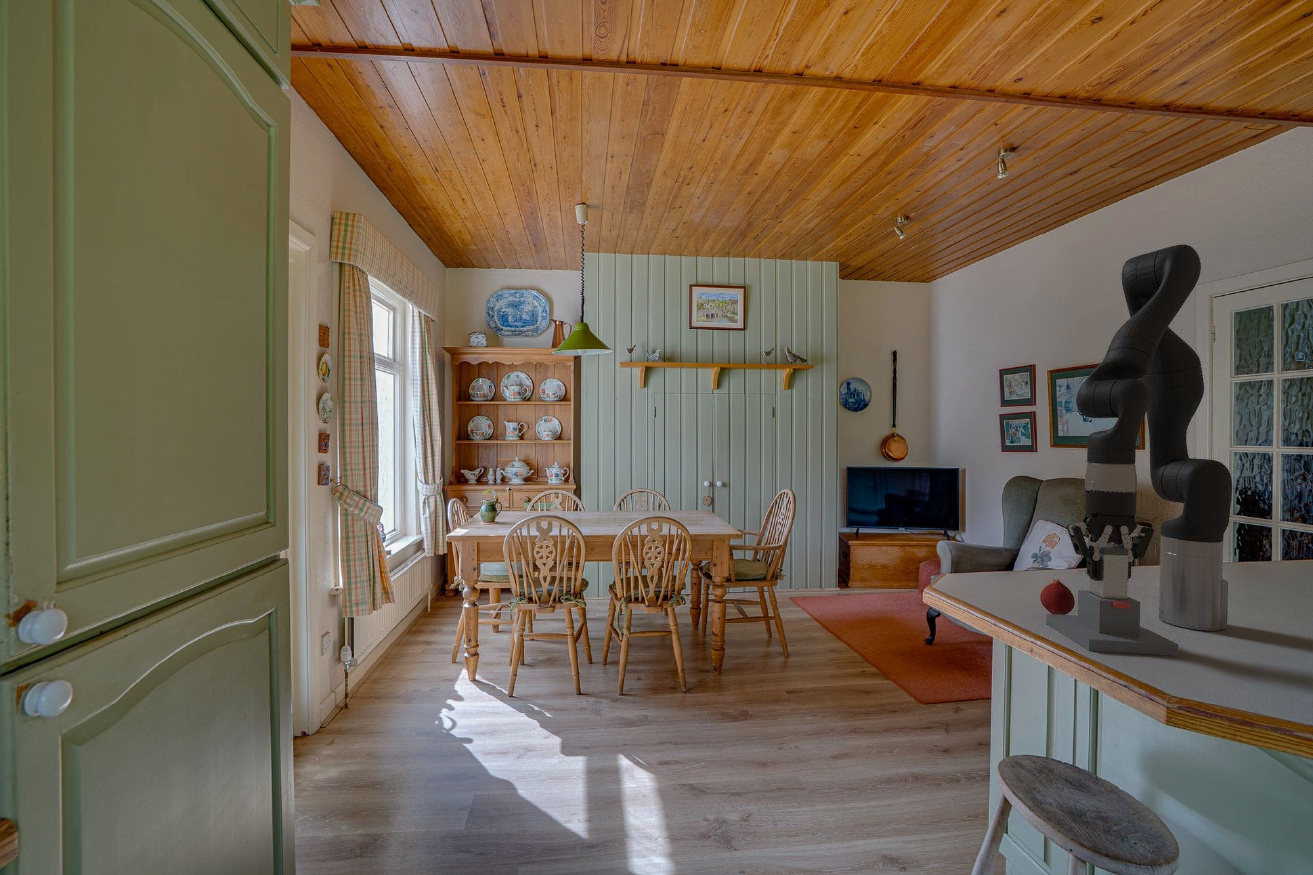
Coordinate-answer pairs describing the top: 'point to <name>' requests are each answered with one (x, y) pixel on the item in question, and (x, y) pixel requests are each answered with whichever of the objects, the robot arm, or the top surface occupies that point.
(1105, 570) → the column
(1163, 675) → the top surface
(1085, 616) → the stand
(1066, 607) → the onion
